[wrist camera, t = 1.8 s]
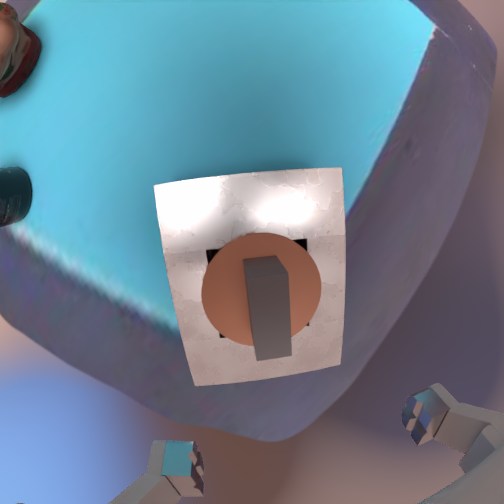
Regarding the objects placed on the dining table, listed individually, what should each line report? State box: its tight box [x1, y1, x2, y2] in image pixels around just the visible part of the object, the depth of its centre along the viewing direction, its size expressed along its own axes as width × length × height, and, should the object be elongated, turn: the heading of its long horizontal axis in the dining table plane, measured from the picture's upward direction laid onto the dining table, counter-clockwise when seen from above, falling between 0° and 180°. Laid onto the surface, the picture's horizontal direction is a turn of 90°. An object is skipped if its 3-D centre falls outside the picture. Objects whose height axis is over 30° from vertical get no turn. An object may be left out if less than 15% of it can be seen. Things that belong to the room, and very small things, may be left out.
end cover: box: [201, 233, 322, 361], centre depth 22 cm, size 9×9×10 cm
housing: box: [154, 167, 346, 386], centre depth 25 cm, size 18×14×7 cm
